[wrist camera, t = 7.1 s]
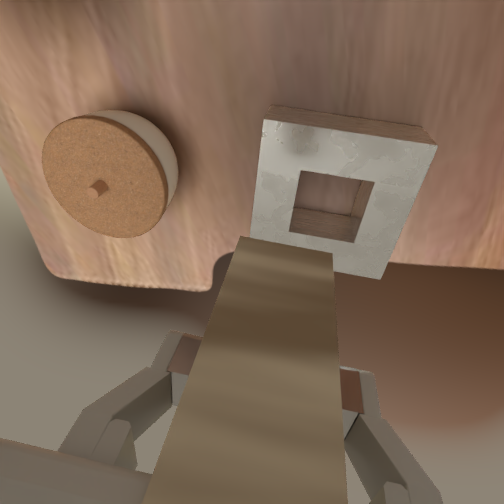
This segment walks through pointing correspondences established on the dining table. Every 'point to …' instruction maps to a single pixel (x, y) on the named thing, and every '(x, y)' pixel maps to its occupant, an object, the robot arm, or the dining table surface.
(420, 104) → the dining table surface
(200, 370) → the ash peg
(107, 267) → the dining table surface
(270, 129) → the socket block
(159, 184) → the lidded jar
